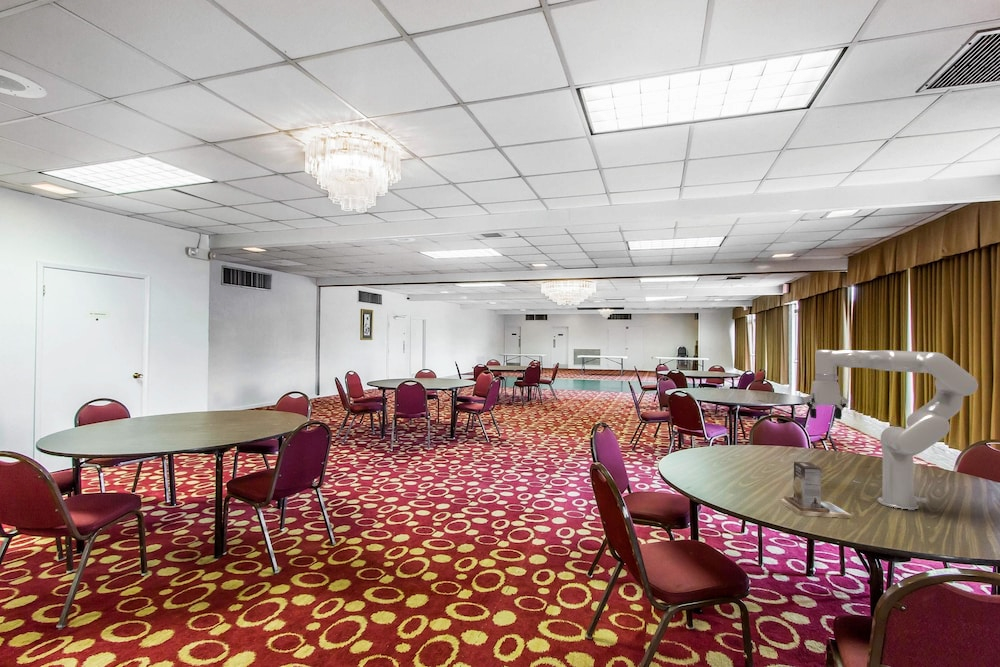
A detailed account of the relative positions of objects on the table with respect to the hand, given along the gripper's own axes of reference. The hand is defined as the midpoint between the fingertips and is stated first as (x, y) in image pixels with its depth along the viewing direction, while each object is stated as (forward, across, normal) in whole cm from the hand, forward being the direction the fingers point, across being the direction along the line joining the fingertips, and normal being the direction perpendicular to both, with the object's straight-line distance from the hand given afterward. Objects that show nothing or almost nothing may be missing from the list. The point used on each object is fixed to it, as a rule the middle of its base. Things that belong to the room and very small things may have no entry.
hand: (825, 418), depth 195 cm
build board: (+33, +14, +19) cm, 41 cm away
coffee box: (+32, +17, +19) cm, 41 cm away
